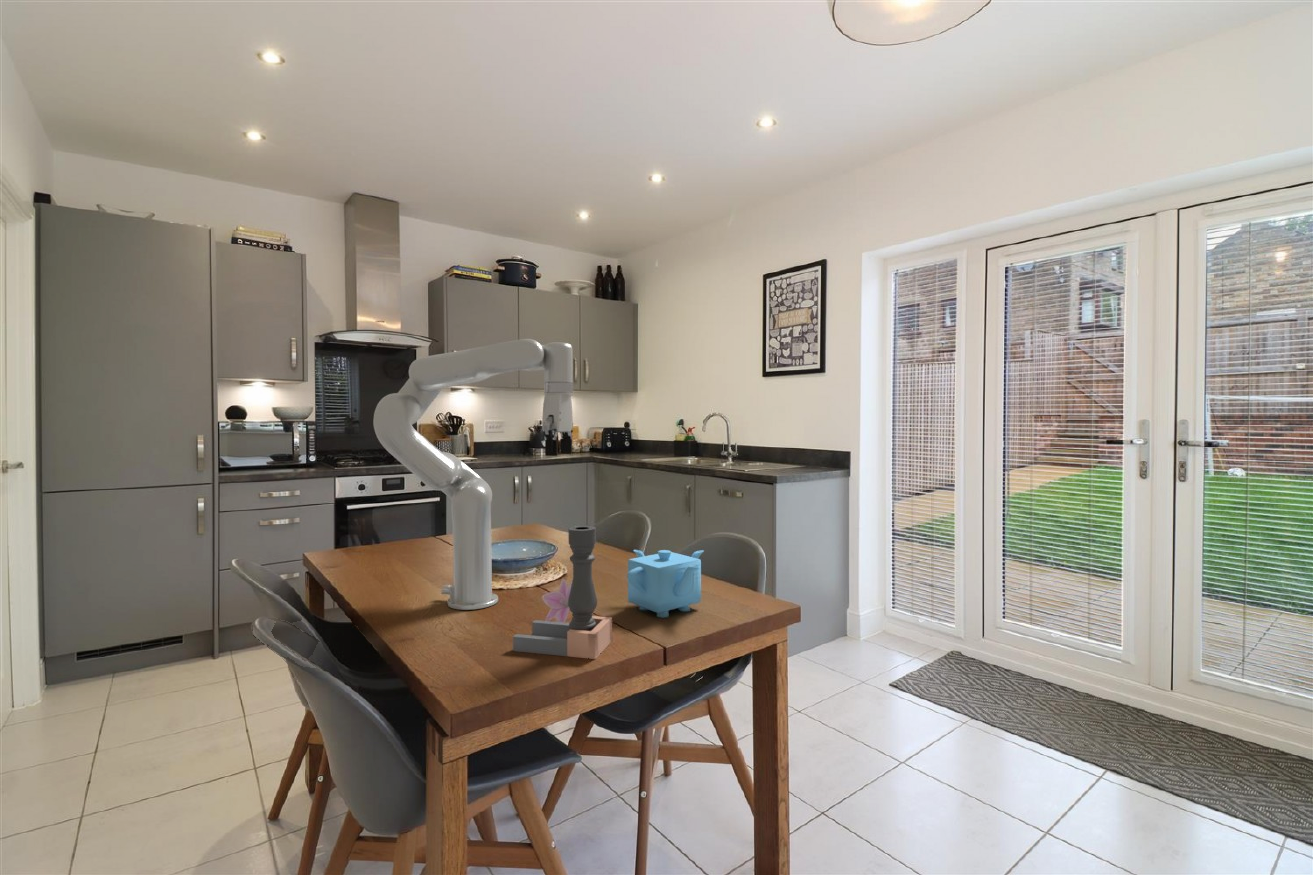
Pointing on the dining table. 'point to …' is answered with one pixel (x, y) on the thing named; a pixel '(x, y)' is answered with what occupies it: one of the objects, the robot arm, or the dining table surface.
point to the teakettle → (664, 581)
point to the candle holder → (582, 578)
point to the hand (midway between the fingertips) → (559, 454)
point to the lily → (558, 602)
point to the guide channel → (565, 639)
